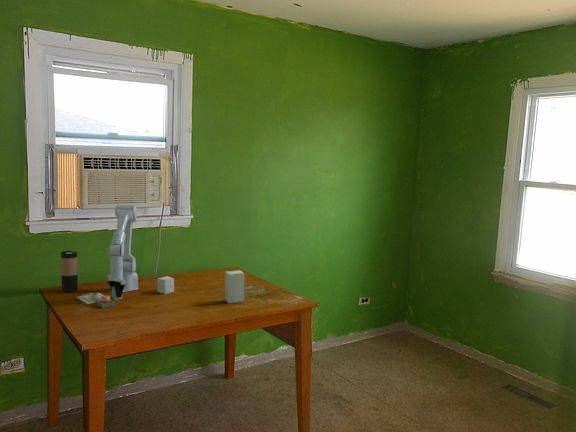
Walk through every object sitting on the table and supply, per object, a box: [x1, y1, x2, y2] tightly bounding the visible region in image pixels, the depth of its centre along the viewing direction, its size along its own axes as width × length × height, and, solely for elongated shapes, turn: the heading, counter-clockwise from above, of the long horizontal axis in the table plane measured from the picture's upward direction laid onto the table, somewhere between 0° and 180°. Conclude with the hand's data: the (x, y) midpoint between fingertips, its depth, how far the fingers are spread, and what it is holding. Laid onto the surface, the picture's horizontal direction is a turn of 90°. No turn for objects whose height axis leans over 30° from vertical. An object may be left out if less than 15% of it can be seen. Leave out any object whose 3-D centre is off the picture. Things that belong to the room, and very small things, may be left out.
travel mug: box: [60, 250, 79, 294], centre depth 247 cm, size 8×8×20 cm
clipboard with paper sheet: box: [74, 292, 114, 306], centre depth 235 cm, size 12×15×1 cm
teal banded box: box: [111, 287, 123, 301], centre depth 236 cm, size 4×4×6 cm
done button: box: [102, 295, 111, 303], centre depth 226 cm, size 4×4×3 cm
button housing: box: [96, 298, 116, 309], centre depth 226 cm, size 6×6×2 cm
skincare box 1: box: [157, 276, 175, 295], centre depth 251 cm, size 6×6×7 cm
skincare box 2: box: [224, 269, 245, 304], centre depth 238 cm, size 8×6×15 cm
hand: (116, 296), depth 236 cm, fingers closed on teal banded box, 4 cm apart
